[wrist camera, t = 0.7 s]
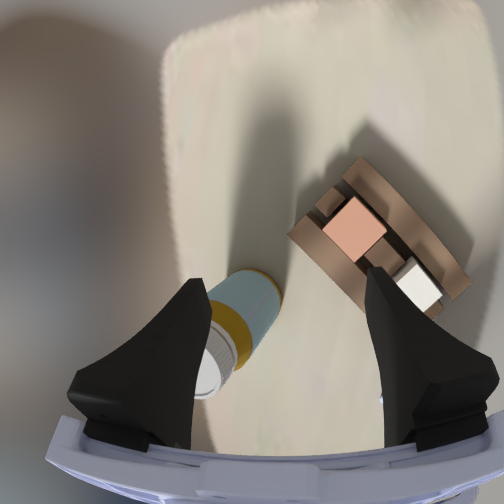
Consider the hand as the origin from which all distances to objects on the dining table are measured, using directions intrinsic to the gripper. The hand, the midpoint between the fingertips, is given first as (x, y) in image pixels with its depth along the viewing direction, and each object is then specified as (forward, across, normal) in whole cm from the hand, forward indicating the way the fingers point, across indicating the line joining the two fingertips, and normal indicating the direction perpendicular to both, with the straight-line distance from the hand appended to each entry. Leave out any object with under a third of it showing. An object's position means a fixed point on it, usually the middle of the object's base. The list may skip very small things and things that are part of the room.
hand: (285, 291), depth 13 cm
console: (+15, -9, +9) cm, 20 cm away
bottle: (+16, +5, +15) cm, 22 cm away
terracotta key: (+15, -6, +6) cm, 17 cm away
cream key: (+12, -11, +11) cm, 20 cm away
